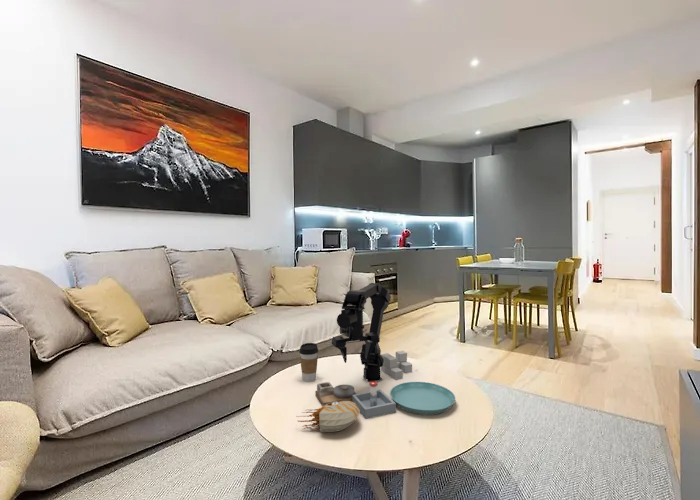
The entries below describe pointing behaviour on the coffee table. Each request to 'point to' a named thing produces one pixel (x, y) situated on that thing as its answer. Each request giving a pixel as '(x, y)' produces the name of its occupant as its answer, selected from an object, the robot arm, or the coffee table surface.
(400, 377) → the puzzle cube
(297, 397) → the coffee table surface
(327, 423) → the nautilus
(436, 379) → the coffee table surface
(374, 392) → the lock pin
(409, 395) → the teal round plate
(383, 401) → the tray
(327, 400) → the pulley block
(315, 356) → the coffee cup
